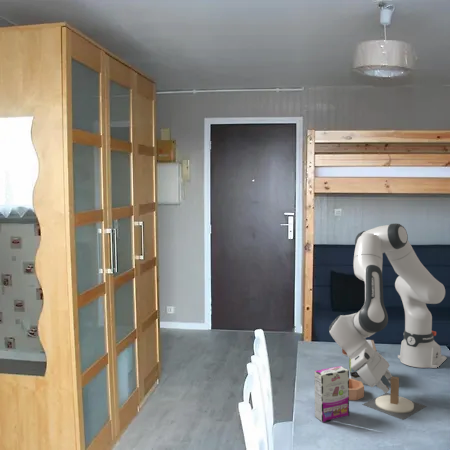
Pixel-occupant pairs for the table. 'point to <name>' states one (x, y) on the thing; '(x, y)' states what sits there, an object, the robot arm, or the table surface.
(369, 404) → the mat
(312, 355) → the table surface
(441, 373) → the table surface
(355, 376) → the tea box
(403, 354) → the robot arm
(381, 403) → the lid
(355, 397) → the bowl
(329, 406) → the candy bar box
